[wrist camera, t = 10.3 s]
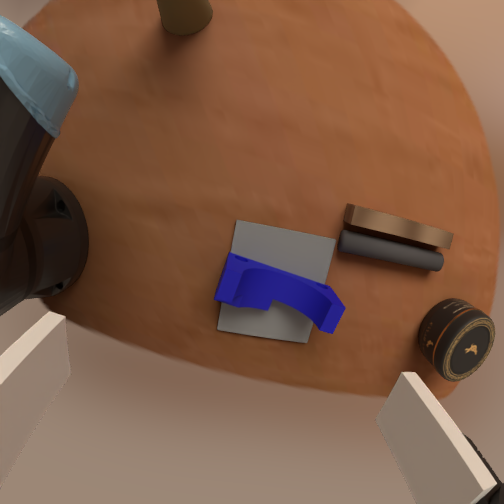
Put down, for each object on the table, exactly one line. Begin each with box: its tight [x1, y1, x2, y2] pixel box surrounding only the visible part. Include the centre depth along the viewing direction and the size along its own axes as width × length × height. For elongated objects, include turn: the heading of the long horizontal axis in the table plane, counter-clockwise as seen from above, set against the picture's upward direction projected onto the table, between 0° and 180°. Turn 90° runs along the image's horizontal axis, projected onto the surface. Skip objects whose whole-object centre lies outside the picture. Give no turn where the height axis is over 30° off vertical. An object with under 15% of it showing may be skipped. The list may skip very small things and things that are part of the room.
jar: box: [419, 298, 495, 381], centre depth 33 cm, size 10×10×8 cm
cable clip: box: [214, 252, 345, 334], centre depth 31 cm, size 12×4×6 cm, turn 70°
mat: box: [217, 220, 336, 343], centre depth 34 cm, size 11×13×1 cm
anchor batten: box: [344, 203, 453, 249], centre depth 32 cm, size 14×2×2 cm, turn 79°
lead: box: [338, 230, 444, 271], centre depth 33 cm, size 14×2×2 cm, turn 79°
